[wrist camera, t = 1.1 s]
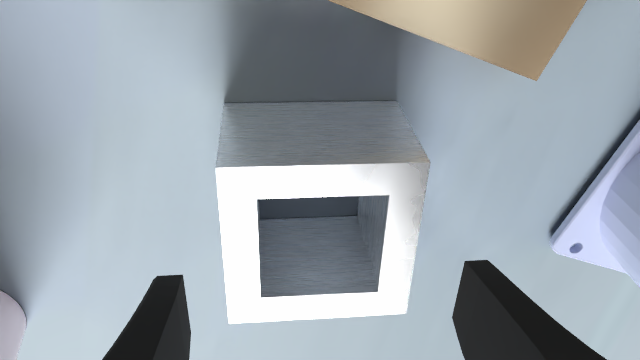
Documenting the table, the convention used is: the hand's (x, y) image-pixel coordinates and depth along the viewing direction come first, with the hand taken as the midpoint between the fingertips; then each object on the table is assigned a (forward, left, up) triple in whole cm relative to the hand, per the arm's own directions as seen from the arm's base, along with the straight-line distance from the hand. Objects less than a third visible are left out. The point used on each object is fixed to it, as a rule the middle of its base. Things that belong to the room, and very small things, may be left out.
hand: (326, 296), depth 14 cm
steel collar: (0, 0, -6) cm, 6 cm away
